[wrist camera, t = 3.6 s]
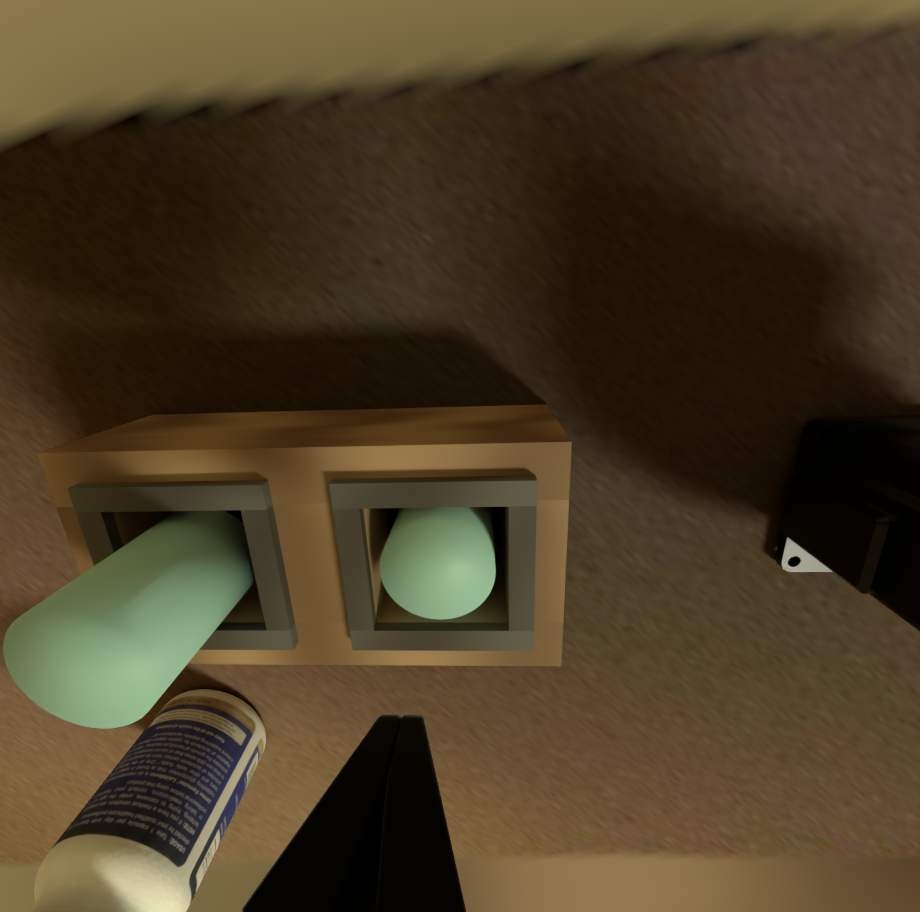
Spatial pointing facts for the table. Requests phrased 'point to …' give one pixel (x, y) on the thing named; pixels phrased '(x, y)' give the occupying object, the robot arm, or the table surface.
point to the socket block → (339, 522)
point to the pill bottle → (157, 812)
